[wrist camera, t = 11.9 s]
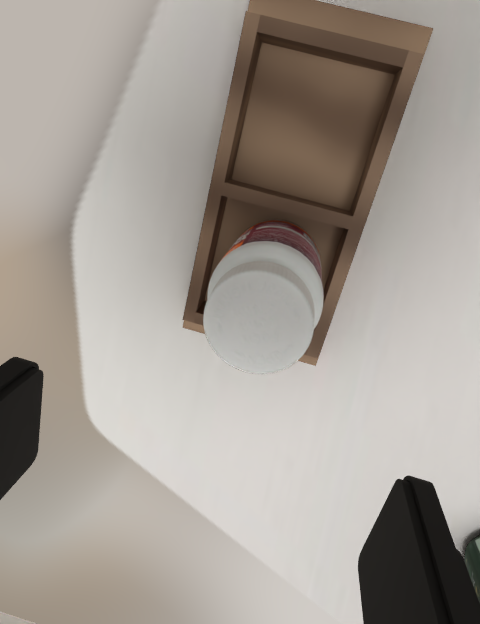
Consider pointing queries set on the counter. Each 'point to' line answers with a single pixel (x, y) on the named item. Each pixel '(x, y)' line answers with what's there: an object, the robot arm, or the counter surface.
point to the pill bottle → (265, 298)
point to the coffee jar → (474, 563)
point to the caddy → (306, 135)
